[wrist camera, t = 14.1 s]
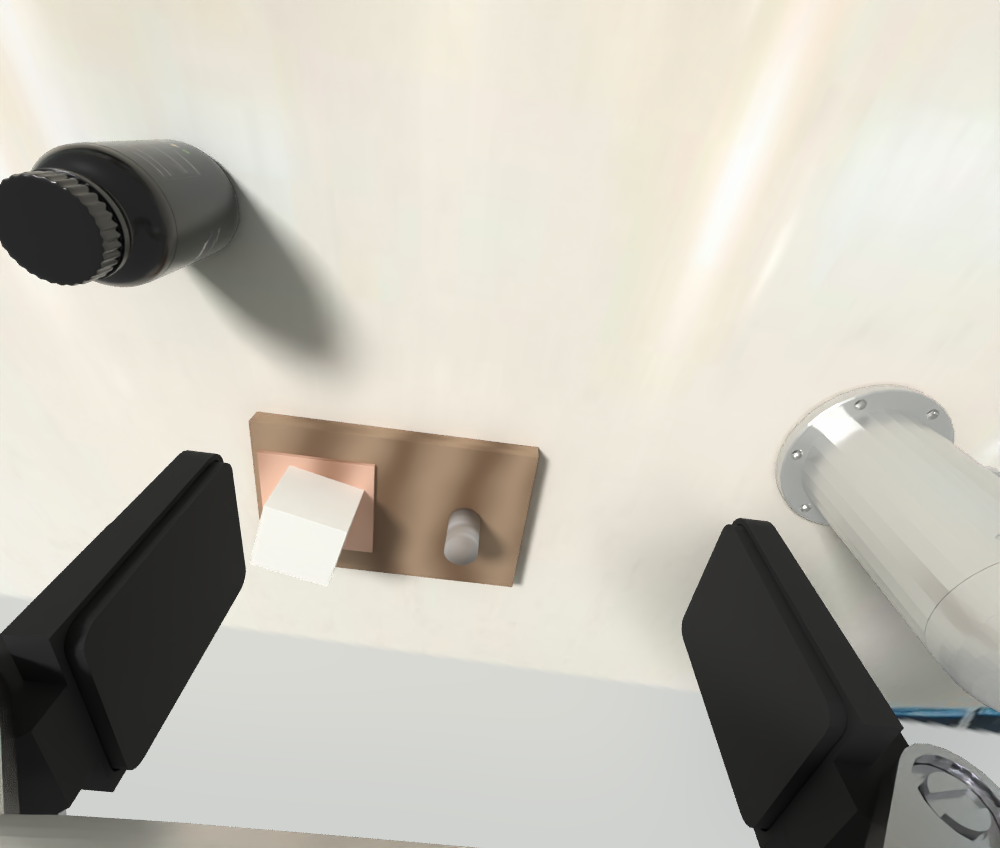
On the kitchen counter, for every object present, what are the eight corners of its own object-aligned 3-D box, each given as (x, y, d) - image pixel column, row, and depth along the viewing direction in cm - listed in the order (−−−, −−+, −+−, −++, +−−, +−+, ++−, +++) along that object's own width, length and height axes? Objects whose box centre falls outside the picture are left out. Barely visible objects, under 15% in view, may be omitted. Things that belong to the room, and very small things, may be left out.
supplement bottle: (235, 270, 36) (123, 331, 26) (129, 230, 35) (-33, 278, 25) (251, 165, 33) (130, 187, 22) (134, 117, 32) (-50, 117, 21)
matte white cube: (364, 490, 43) (347, 532, 38) (345, 542, 46) (327, 587, 41) (289, 465, 42) (263, 505, 37) (274, 520, 44) (249, 563, 40)
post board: (538, 447, 43) (541, 487, 38) (512, 574, 49) (512, 621, 45) (256, 411, 41) (225, 448, 37) (270, 546, 48) (245, 592, 44)
